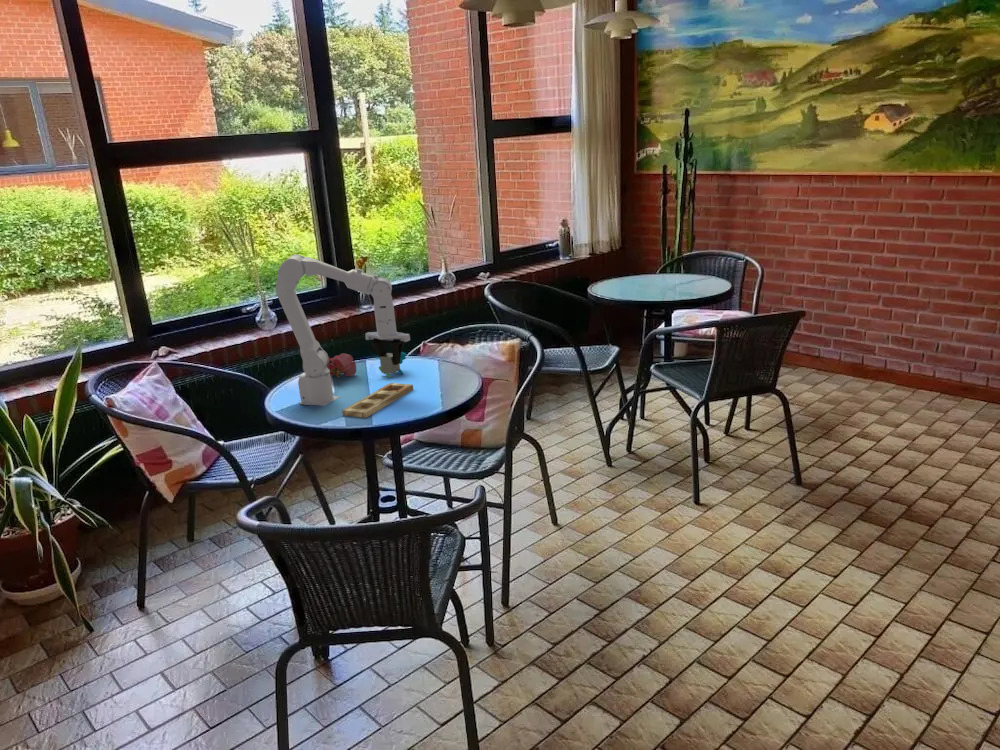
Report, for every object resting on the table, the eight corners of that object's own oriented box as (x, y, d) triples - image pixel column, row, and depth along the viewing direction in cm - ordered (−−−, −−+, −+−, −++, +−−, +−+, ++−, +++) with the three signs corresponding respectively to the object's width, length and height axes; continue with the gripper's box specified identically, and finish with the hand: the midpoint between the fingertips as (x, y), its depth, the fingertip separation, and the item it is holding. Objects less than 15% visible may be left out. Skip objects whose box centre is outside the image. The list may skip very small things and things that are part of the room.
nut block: (381, 372, 222) (379, 356, 221) (389, 368, 226) (387, 353, 224) (392, 373, 221) (390, 357, 219) (400, 369, 224) (398, 353, 222)
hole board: (343, 416, 210) (342, 409, 209) (391, 388, 231) (390, 382, 231) (366, 419, 206) (365, 412, 206) (413, 390, 228) (412, 384, 227)
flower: (328, 385, 252) (337, 357, 254) (353, 389, 248) (361, 360, 250) (309, 374, 242) (318, 346, 244) (335, 379, 238) (344, 349, 240)
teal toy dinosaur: (399, 362, 253) (407, 346, 246) (409, 375, 252) (417, 359, 244) (373, 375, 247) (380, 358, 239) (383, 388, 246) (391, 372, 238)
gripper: (357, 321, 218) (363, 365, 222) (398, 323, 212) (404, 368, 216) (370, 316, 224) (376, 359, 228) (411, 317, 218) (416, 361, 222)
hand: (390, 363), depth 223 cm, fingers closed on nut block, 4 cm apart
